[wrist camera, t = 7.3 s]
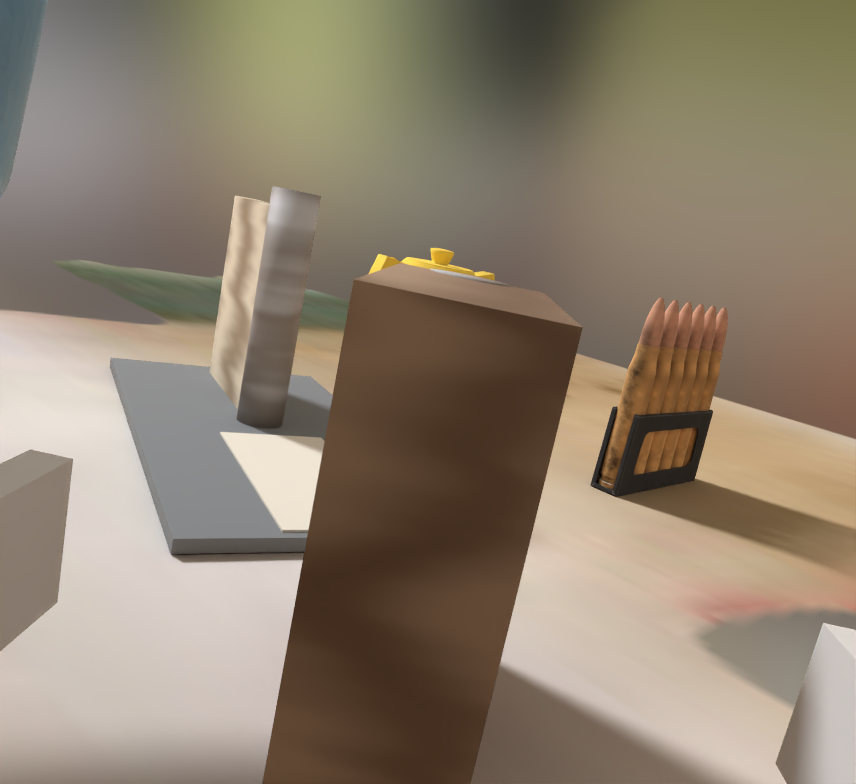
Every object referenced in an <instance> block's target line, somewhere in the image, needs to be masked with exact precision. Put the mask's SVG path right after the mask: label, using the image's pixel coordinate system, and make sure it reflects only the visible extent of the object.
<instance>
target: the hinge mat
mask: <svg viewBox="0 0 856 784" xmlns="http://www.w3.org/2000/svg"><path fill="white" fill-rule="evenodd" d="M110 368H111V371H112V374H113V378H114V381H115V384H116V387H117V390H118V393H119V396H120V399H121V402H122V405H123V408H124V411H125V414H126V418H127V421H128V424H129V427H130V430H131V433H132V436H133V439H134V442H135V445H136V448H137V451H138V454H139V458H140V461H141V464H142V467H143V470H144V473H145V476H146V479H147V482H148V485H149V488H150V491H151V494H152V498H153V501H154V504H155V507H156V510H157V513H158V516H159V519H160V522H161V525H162V528H163V531H164V535H165V538H166V541H167V544H168V547H169V550H170V553H171V554H200V553H258V552H305V546H306V541H307V535H308V530H309V524H310V519H311V513H312V508H313V502H314V496H315V491H316V485H317V480H318V474H319V469H320V463H321V458H322V452H323V447H324V441H325V436H326V430H327V425H328V419H329V414H330V408H331V403H332V397H333V395H332V394H330V393H329V392H328V391H327V390H326V389H325V388H323V387H322V386H321V385H320V384H319V383H317V382H316V381H315V380H314V379H313V378H312V377H309V376H298V375H291V376H290V382H289V388H288V394H287V400H286V406H285V412H284V418H283V424H282V426H281V427H278V428H257V427H252V426H248V425H245V424H243V423H241V422H239V421H238V420H237V419H236V418H237V411H238V409H237V408H236V407H235V405H234V404H233V403H232V401H231V400H230V399H229V397H228V396H227V395H226V393H225V392H224V391H223V389H222V388H221V387H220V385H219V384H218V383H217V382H216V380H215V379H214V378H213V376H212V375H211V374H210V372H209V371H210V367H203V366H193V365H182V364H172V363H161V362H151V361H140V360H129V359H119V358H111V361H110Z"/></svg>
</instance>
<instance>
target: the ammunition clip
mask: <svg viewBox="0 0 856 784" xmlns="http://www.w3.org/2000/svg"><path fill="white" fill-rule="evenodd" d="M727 316H728V315H727V309H726V308H722V310H721V311H720V312H719V314H718V315H717V316H716V308H715V306H712V307H710V309H709V310H708V311H707V313H706V314H705V311H704V306H703V304H700V305H699V306H698V307H697V308H696V309H695V311H694V312H693V314H692V305H691V303H690V302H687V303H686V304H685V306H684V307H683V308H682V310H681V311H680V313H679V306H678V301H677V300H674V301H673V302H672V303H671V304H670V305H669V307H668V308H667V310H666V312H665V304H664V300H663V298H662V297H661V298H659V299H658V300H657V301H656V303H655V304H654V306H653V307H652V309H651V311H650V313H649V315H648V317H647V319H646V322H645V324H644V327H643V330H642V333H641V337H640V340H639V343H638V345H637V348H636V352H635V355H634V357H633V359H632V361H631V363H630V366H629V368H628V371H627V375H626V378H625V382H624V386H623V390H622V393H621V397H620V401H619V405H618V407H613V408H612V411H611V415H610V418H609V422H608V425H607V429H606V432H605V436H604V439H603V443H602V446H601V450H600V453H599V457H598V461H597V464H596V468H595V471H594V475H593V478H592V482H591V485H590V486H593V487H595V488H597V489H599V490H602V491H604V492H606V493H608V494H611V495H613V496H615V497H618V496H623V495H628V494H632V493H637V492H642V491H647V490H652V489H656V488H661V487H666V486H671V485H675V484H680V483H685V482H690V481H694V479H695V476H696V472H697V469H698V465H699V461H700V458H701V454H702V450H703V447H704V443H705V439H706V436H707V432H708V428H709V425H710V421H711V418H712V414H713V411H712V410H709V409H710V405H711V401H712V398H713V394H714V391H715V387H716V384H717V380H718V376H719V369H720V360H721V356H722V350H723V346H724V343H725V338H726V332H727V323H728V322H727V321H728V317H727Z"/></svg>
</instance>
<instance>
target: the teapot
mask: <svg viewBox="0 0 856 784" xmlns="http://www.w3.org/2000/svg"><path fill="white" fill-rule="evenodd" d="M453 255H454V253H453V252H451V251H448V250H444V249H439V248H431V257H432V261H428V260H423V259H417V258H410V257H407V258H405V259H404V260H403V261H402V262H400V261H398V260H396V259H395V258H393V257H388V256H385V255H381V254H378V256H377V258H376V260H375V263H374V264H373V267H372V268H371V270H370V272H369V274H371V273H374V272H376V271H379V270H382V269H385V268H388V267H391V266H393V265H396V264H399V263H403V264H408V265H413V266H418V267H422V268H427V269H438V270H445V271H451V272H456V273H462V274H467V275H471V276H476V277H481V278H485V279H490V280H494V274H492V273H488V272H484V271H483V272H473V271H472V270H469V269H465V268H461V267H457V266H453V265H448V264H449V262H450V261H451V259H452V257H453Z"/></svg>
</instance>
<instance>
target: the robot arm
mask: <svg viewBox="0 0 856 784" xmlns="http://www.w3.org/2000/svg"><path fill="white" fill-rule="evenodd" d="M47 4H48V0H0V197H1V196H2V194H3V193H4V191H5V189H6V188H7V185H8V183H9V179H10V176H11V173H12V168H13V164H14V159H15V155H16V150H17V146H18V141H19V136H20V132H21V127H22V122H23V118H24V113H25V108H26V103H27V99H28V94H29V90H30V85H31V80H32V76H33V71H34V67H35V62H36V57H37V52H38V47H39V41H40V37H41V32H42V27H43V23H44V18H45V14H46V9H47ZM72 463H73V459H71V458H66V457H62V456H57V455H53V454H48V453H43V452H39V451H34V450H29V451H26V452H24V453H22V454H20V455H18V456H16V457H14V458H12V459H10V460H7V461H5V462H3V463H1V464H0V651H1V650H2V649H3V648H5V647H6V646H7V645H8V644H9V643H10V642H12V641H13V640H14V639H15V638H16V637H17V636H19V635H20V634H21V633H22V632H23V631H24V630H26V629H27V628H28V627H29V626H30V625H31V624H33V623H34V622H35V621H36V620H37V619H38V618H39V617H41V616H42V615H43V614H44V613H45V612H46V611H48V610H49V609H50V608H51V607H52V606H53V605H55V604H56V603H57V599H58V590H59V581H60V572H61V563H62V554H63V545H64V536H65V527H66V518H67V508H68V499H69V490H70V481H71V472H72ZM776 765H777V767H778V768H779V770H780V772H781V774H782V776H783V777H784V779H785V781H786V783H787V784H856V630H853V629H848V628H844V627H839V626H835V625H830V624H825V623H823V625H822V628H821V631H820V634H819V637H818V640H817V643H816V646H815V649H814V652H813V655H812V658H811V661H810V664H809V667H808V669H807V672H806V676H805V678H804V681H803V684H802V687H801V690H800V693H799V696H798V699H797V702H796V705H795V708H794V711H793V714H792V716H791V719H790V722H789V725H788V728H787V731H786V734H785V737H784V740H783V743H782V746H781V749H780V752H779V755H778V758H777V761H776Z"/></svg>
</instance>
